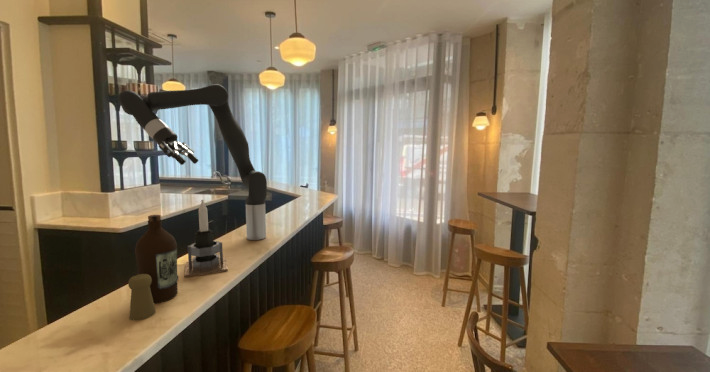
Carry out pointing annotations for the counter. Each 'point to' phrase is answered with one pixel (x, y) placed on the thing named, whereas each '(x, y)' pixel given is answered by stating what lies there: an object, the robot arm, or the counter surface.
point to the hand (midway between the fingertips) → (190, 162)
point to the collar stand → (205, 266)
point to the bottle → (204, 233)
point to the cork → (141, 297)
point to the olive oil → (158, 260)
